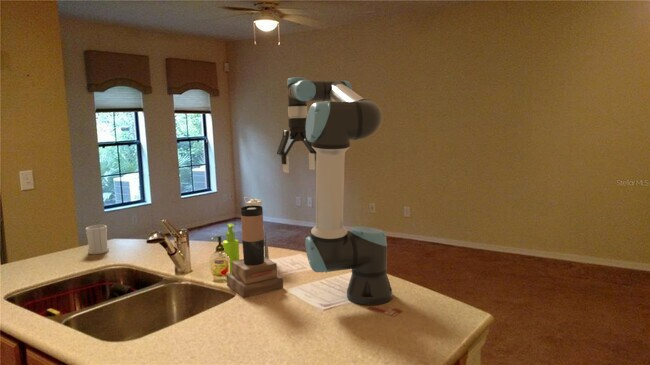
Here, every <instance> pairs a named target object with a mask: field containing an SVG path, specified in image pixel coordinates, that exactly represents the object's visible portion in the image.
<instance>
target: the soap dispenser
mask: <svg viewBox="0 0 650 365" xmlns="http://www.w3.org/2000/svg"><path fill="white" fill-rule="evenodd" d="M226 226H227V231H226V232H225V239H226V240H223V241H222V245H223V246H222V248H224V251H225V253H226V254H227V256H229V258H230V274H232V261H237V260H240V245H239V239H236V233H235V231H234V230H233V229H235V228H236V226H235V224H234V223H231V222H230V223H226ZM224 251H223V252H224Z"/></svg>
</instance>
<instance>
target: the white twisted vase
mask: <svg viewBox="0 0 650 365" xmlns="http://www.w3.org/2000/svg"><path fill="white" fill-rule="evenodd" d="M246 199H249V201H247V200H246ZM243 200H244V202H245V206H262V202H263V201H262V200H263V199H261V198H254V197H251V196H244V197H243ZM264 228H265V226H264V224H263V229H264ZM264 230H265V229H264ZM267 237H268V236H267V231H264V257H265V258H267V259H269V260H270V256H269V242H268V238H267Z"/></svg>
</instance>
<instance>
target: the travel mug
mask: <svg viewBox="0 0 650 365" xmlns="http://www.w3.org/2000/svg"><path fill="white" fill-rule="evenodd" d="M240 215H241V216H240V217H241V242H242V243H241V244H242V253H243V259H244V264H246V265H251V266H253V265H260V264H262V263H264V257H265V243H264V242H265V229H263V225H264V212H263V206H262V205H261V206H246V205H245V206H242V207H241V208H240Z"/></svg>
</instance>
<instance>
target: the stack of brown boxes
mask: <svg viewBox="0 0 650 365" xmlns="http://www.w3.org/2000/svg"><path fill="white" fill-rule="evenodd" d="M226 283H227V284H226V285H227V286H228V287H229V288H230V289H231V290H233V291H235V293H237V294H238V295H240V296H241V297H242V298H243V299H244V298H249V297H252V296H257V295H260V294H264V293H269V292H274V291H276V290H277V291H278V290H282V289H284V277H283V276H282V275H279V274H278V268H277V262H275V261H272V260H271V259H270V258H269V259H267V258H265V256H264V263H262V264H260V265H253V266H251V265H246V264H244V258H243V259H239V260H237V261H232V274H227V276H226Z"/></svg>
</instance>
